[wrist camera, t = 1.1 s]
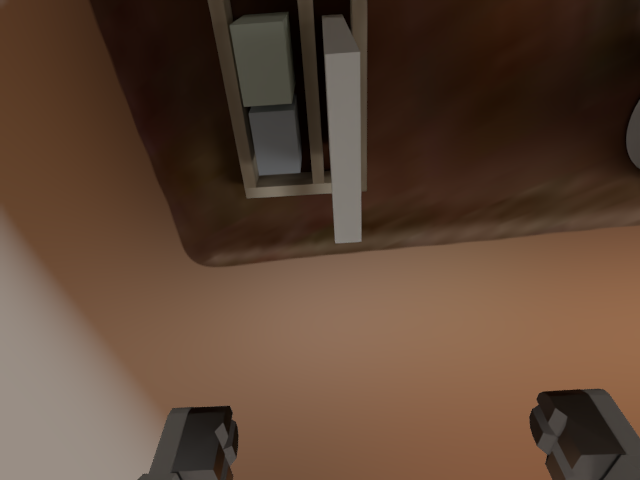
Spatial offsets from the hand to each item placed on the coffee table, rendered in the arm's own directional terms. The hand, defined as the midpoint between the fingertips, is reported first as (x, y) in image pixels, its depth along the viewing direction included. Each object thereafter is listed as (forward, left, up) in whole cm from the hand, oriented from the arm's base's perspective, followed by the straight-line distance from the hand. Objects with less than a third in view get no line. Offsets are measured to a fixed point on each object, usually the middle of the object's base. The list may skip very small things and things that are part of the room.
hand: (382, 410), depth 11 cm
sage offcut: (+6, -4, -34) cm, 35 cm away
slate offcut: (+6, +3, -34) cm, 35 cm away
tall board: (0, 0, -34) cm, 34 cm away
